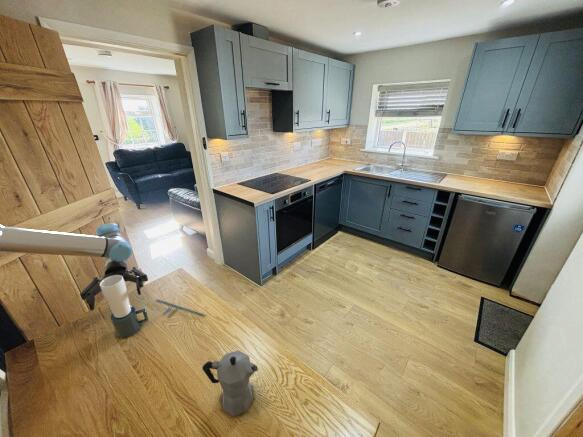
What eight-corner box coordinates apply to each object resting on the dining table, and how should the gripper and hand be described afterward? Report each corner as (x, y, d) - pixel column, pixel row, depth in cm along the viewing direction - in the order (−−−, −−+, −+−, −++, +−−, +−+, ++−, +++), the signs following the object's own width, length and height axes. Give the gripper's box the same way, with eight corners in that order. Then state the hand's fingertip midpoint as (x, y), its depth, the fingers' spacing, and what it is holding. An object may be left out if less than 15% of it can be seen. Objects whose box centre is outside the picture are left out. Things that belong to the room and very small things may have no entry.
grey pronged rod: (195, 323, 93) (203, 314, 98) (146, 307, 100) (156, 299, 105) (195, 326, 93) (204, 317, 98) (147, 309, 101) (157, 302, 105)
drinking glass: (137, 307, 91) (127, 275, 85) (124, 321, 84) (112, 287, 78) (121, 305, 91) (110, 273, 85) (107, 319, 85) (93, 286, 79)
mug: (117, 342, 87) (110, 324, 83) (117, 328, 92) (110, 310, 89) (150, 329, 92) (145, 312, 89) (148, 316, 98) (143, 299, 94)
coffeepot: (262, 384, 74) (260, 344, 67) (256, 420, 66) (253, 378, 58) (214, 380, 75) (207, 340, 68) (202, 415, 66) (192, 373, 59)
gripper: (152, 266, 106) (158, 294, 90) (80, 286, 93) (72, 322, 77) (148, 252, 103) (154, 278, 87) (73, 270, 90) (64, 305, 74)
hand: (115, 299), depth 82 cm, fingers open, 13 cm apart
